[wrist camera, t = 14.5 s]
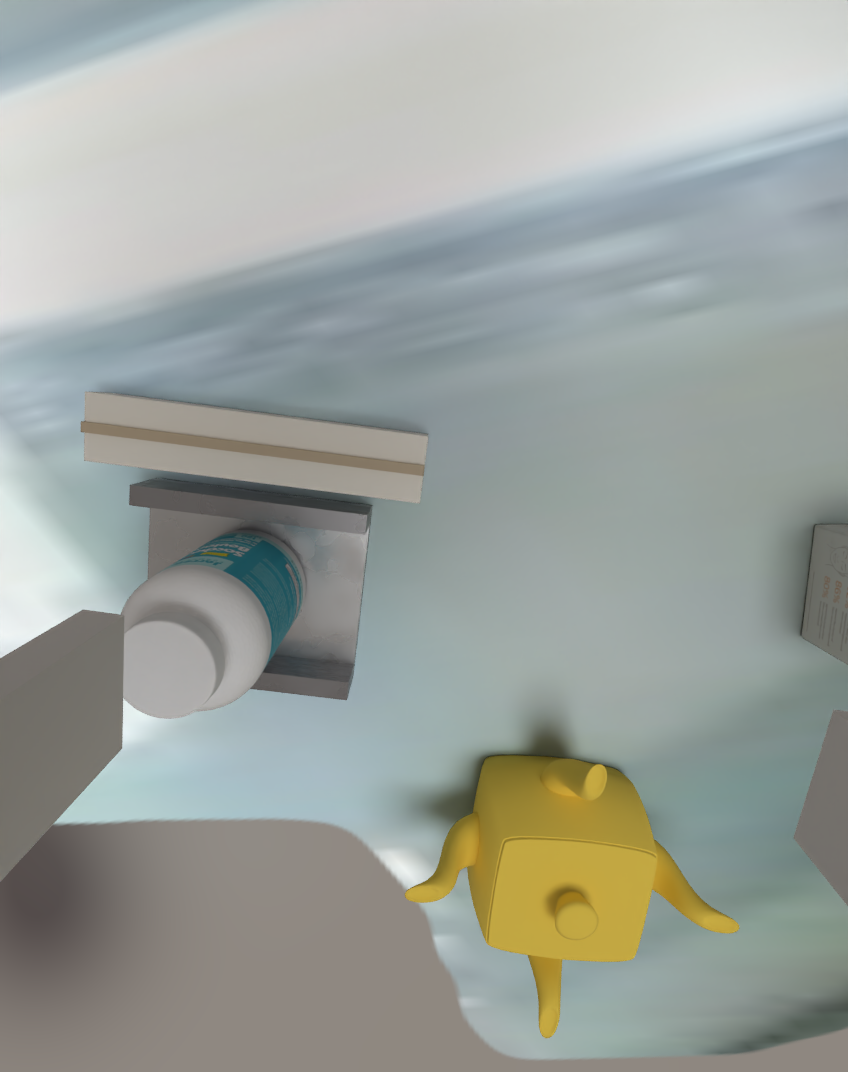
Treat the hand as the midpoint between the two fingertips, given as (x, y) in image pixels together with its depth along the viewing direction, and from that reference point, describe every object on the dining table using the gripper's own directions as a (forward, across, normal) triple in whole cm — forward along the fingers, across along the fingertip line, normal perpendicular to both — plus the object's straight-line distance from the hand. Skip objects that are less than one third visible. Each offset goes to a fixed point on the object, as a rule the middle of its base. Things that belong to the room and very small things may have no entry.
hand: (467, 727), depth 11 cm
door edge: (+28, -12, +2) cm, 31 cm away
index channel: (+28, -12, -8) cm, 31 cm away
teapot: (+29, +10, -22) cm, 38 cm away
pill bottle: (+28, -12, -7) cm, 31 cm away
